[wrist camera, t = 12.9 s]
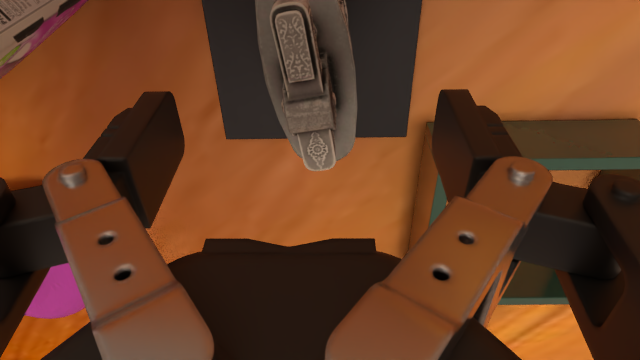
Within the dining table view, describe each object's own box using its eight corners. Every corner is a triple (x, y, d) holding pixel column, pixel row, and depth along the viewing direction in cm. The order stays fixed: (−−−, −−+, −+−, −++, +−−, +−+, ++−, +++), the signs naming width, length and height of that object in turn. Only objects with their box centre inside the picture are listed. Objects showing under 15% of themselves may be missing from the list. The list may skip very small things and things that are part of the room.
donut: (63, 166, 29) (26, 213, 25) (147, 266, 35) (127, 315, 31) (-60, 203, 31) (-111, 252, 27) (39, 291, 37) (8, 341, 33)
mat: (172, -174, 18) (170, -175, 18) (441, -182, 18) (443, -182, 18) (227, 136, 27) (226, 139, 27) (405, 133, 27) (406, 137, 27)
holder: (426, 122, 27) (440, 160, 23) (637, 118, 26) (680, 157, 23) (406, 262, 34) (414, 306, 31) (569, 261, 34) (594, 304, 31)
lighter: (356, 81, 25) (372, 196, 17) (297, 90, 25) (284, 207, 17) (334, -84, 20) (341, -31, 12) (261, -69, 20) (220, -9, 12)
